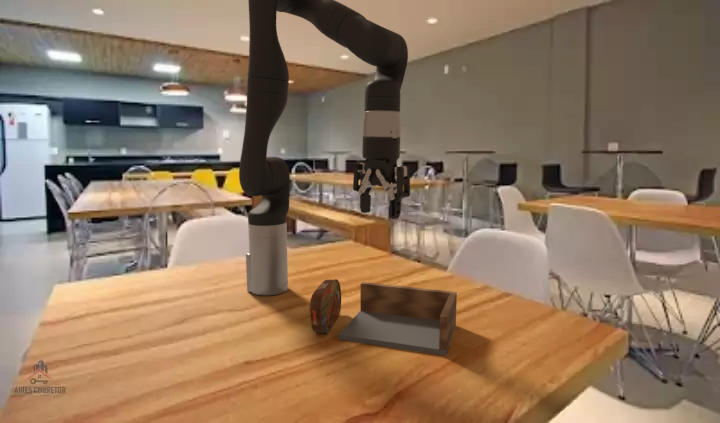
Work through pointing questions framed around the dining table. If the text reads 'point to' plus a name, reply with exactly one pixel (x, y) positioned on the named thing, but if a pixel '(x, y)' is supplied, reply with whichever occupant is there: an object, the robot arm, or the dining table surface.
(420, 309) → the walls
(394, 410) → the dining table surface
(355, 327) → the mat
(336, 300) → the tin
